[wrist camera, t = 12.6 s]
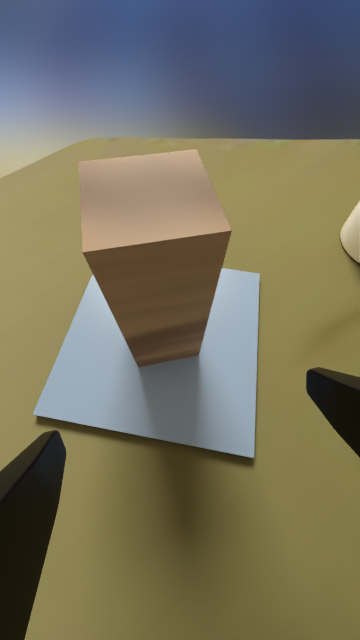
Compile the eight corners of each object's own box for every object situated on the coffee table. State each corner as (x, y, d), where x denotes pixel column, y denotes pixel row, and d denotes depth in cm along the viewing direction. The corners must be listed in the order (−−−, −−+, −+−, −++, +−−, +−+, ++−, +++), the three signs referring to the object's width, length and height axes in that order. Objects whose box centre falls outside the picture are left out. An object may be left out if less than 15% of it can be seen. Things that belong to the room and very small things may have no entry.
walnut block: (199, 355, 20) (231, 230, 8) (138, 367, 19) (82, 252, 8) (185, 303, 22) (196, 149, 11) (130, 313, 22) (78, 161, 10)
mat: (251, 457, 17) (254, 458, 17) (36, 415, 18) (32, 414, 18) (257, 277, 24) (259, 273, 24) (104, 254, 25) (102, 250, 25)
